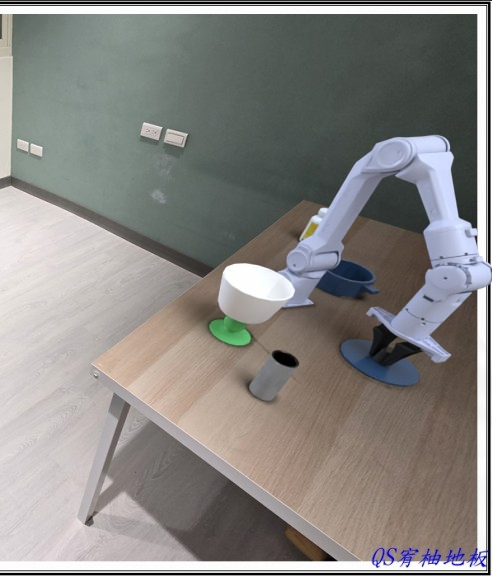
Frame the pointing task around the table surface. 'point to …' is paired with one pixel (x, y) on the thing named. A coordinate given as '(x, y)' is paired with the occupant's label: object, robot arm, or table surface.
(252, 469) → the table surface
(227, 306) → the cup
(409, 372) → the lid
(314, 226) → the pill bottle
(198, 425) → the table surface
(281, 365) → the planter
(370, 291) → the pan
